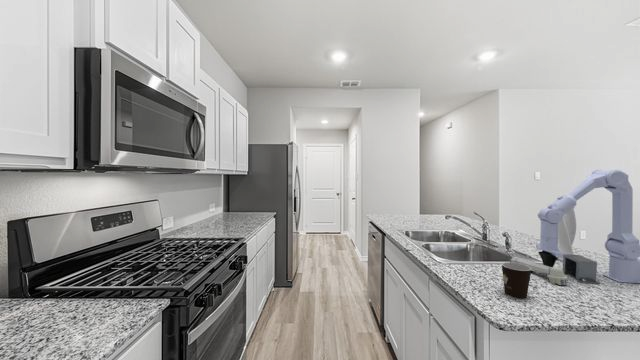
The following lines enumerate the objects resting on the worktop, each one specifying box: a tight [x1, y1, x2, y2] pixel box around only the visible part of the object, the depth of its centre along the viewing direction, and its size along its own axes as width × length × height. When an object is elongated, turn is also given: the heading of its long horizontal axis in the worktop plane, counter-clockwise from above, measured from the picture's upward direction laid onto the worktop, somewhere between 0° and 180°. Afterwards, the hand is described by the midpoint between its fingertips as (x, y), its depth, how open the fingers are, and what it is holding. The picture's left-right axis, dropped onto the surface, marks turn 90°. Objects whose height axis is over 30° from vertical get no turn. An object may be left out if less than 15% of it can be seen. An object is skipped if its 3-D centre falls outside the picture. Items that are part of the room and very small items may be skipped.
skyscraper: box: [556, 206, 577, 263], centre depth 137 cm, size 8×8×28 cm
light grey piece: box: [509, 256, 568, 286], centre depth 120 cm, size 5×7×25 cm
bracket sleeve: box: [562, 254, 601, 285], centre depth 117 cm, size 6×14×8 cm, turn 170°
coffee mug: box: [501, 261, 533, 300], centre depth 101 cm, size 12×9×10 cm
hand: (548, 270), depth 119 cm, fingers closed
